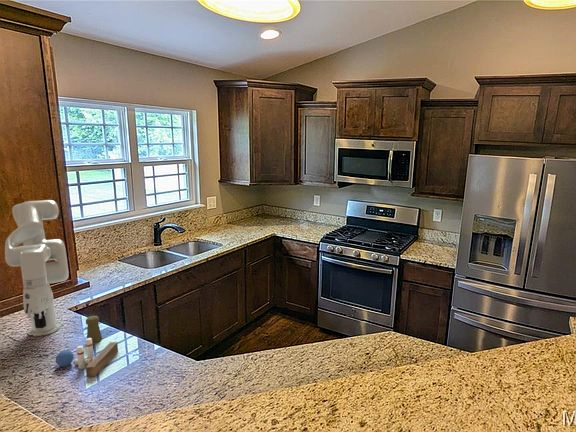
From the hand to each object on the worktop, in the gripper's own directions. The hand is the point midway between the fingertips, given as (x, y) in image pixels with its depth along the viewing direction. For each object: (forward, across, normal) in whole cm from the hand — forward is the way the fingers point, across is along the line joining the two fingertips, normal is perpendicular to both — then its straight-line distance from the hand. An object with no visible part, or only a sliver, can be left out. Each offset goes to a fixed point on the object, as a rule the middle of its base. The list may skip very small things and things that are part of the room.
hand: (40, 326), depth 141 cm
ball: (+12, -2, -9) cm, 15 cm away
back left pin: (+15, +3, -16) cm, 22 cm away
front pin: (+14, -1, -13) cm, 19 cm away
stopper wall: (+15, 0, -23) cm, 28 cm away
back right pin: (+15, -3, -16) cm, 22 cm away
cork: (+15, +18, -10) cm, 25 cm away
